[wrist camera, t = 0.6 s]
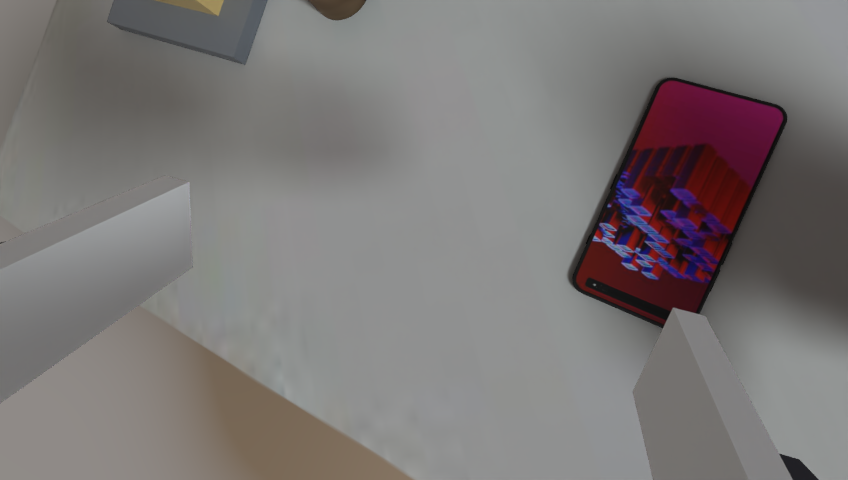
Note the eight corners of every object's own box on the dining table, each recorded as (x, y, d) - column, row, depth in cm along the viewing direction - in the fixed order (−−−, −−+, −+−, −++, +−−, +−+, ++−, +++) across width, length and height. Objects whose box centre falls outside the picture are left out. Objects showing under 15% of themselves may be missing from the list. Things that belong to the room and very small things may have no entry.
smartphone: (794, 108, 29) (689, 339, 30) (789, 113, 30) (687, 338, 31) (660, 73, 32) (566, 286, 32) (659, 78, 33) (567, 286, 33)
